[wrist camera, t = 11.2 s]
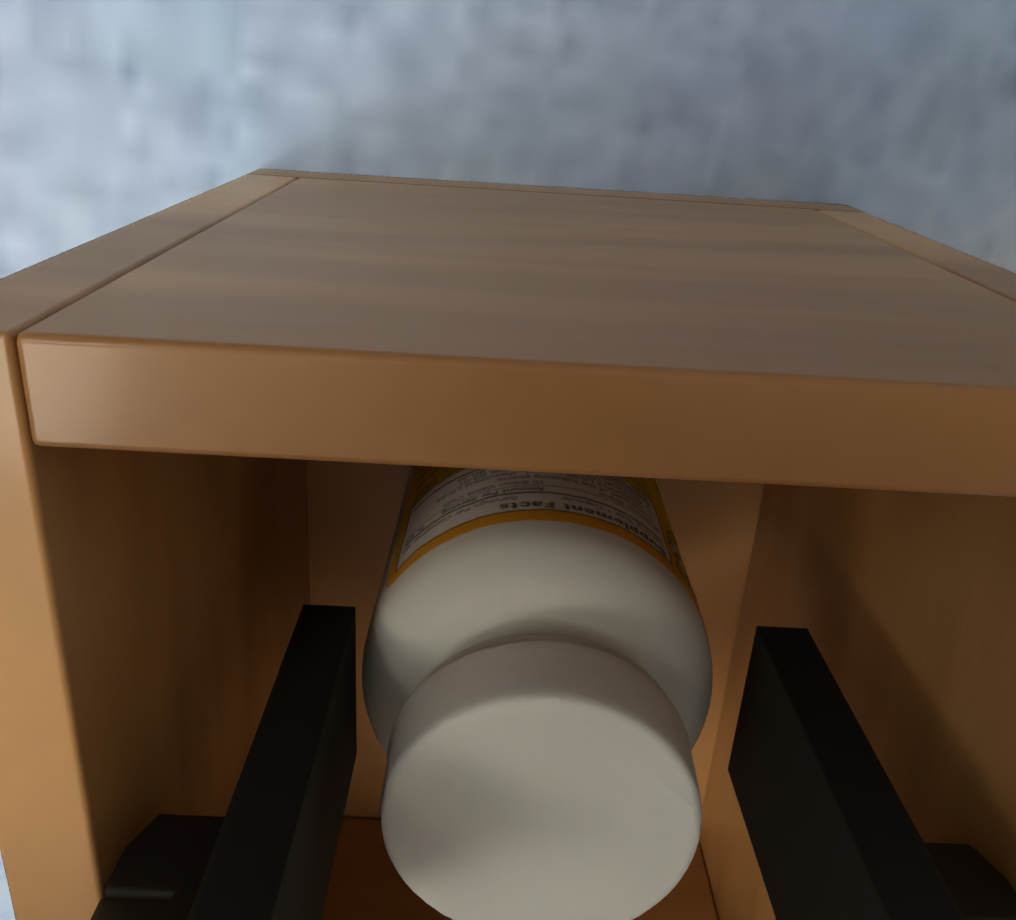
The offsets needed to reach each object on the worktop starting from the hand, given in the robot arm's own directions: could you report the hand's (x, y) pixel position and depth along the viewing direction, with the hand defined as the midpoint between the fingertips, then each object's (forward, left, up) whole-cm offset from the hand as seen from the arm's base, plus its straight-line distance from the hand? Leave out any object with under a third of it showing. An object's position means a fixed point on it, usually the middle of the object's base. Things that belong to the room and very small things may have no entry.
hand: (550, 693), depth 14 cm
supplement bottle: (0, 0, -7) cm, 7 cm away
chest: (+2, 0, -8) cm, 8 cm away
